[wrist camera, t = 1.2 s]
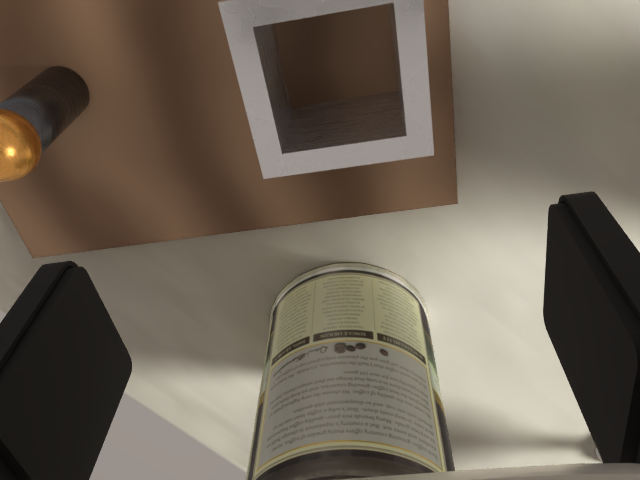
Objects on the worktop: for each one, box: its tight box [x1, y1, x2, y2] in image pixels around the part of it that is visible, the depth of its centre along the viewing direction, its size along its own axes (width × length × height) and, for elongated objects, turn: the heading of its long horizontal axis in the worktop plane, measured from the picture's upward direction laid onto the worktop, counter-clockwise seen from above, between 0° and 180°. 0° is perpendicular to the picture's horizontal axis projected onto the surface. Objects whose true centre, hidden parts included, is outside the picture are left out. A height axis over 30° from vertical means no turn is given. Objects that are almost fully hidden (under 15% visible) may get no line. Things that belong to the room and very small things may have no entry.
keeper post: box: [0, 66, 90, 182], centre depth 24 cm, size 3×3×7 cm
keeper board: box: [0, 0, 458, 258], centre depth 27 cm, size 24×18×2 cm
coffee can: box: [246, 263, 455, 480], centre depth 31 cm, size 10×10×14 cm
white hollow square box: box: [218, 0, 434, 179], centre depth 23 cm, size 7×7×5 cm
